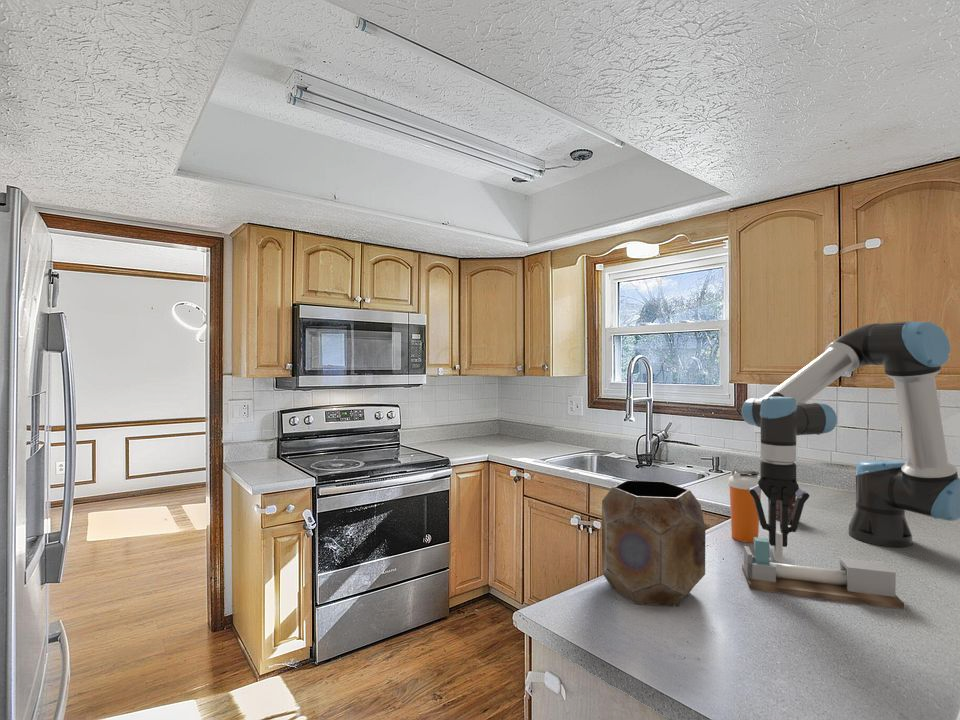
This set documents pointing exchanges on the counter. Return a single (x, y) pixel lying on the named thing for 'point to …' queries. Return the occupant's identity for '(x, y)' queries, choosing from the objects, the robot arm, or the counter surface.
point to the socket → (758, 568)
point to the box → (790, 507)
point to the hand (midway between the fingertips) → (778, 559)
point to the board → (822, 591)
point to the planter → (652, 542)
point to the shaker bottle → (743, 506)
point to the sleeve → (869, 577)
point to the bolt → (797, 567)
